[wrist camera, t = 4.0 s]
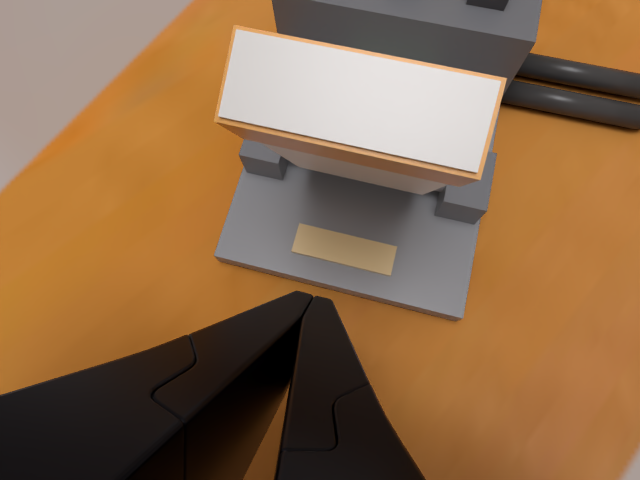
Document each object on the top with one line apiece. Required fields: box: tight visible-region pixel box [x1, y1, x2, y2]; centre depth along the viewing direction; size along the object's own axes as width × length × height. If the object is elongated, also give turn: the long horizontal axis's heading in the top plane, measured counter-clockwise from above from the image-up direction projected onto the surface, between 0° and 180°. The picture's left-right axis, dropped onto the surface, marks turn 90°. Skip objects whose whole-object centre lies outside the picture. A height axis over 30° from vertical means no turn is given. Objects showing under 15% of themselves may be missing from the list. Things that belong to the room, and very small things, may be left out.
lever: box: [214, 25, 507, 195], centre depth 12 cm, size 2×5×9 cm, turn 75°
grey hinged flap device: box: [214, 0, 640, 321], centre depth 17 cm, size 13×17×5 cm
